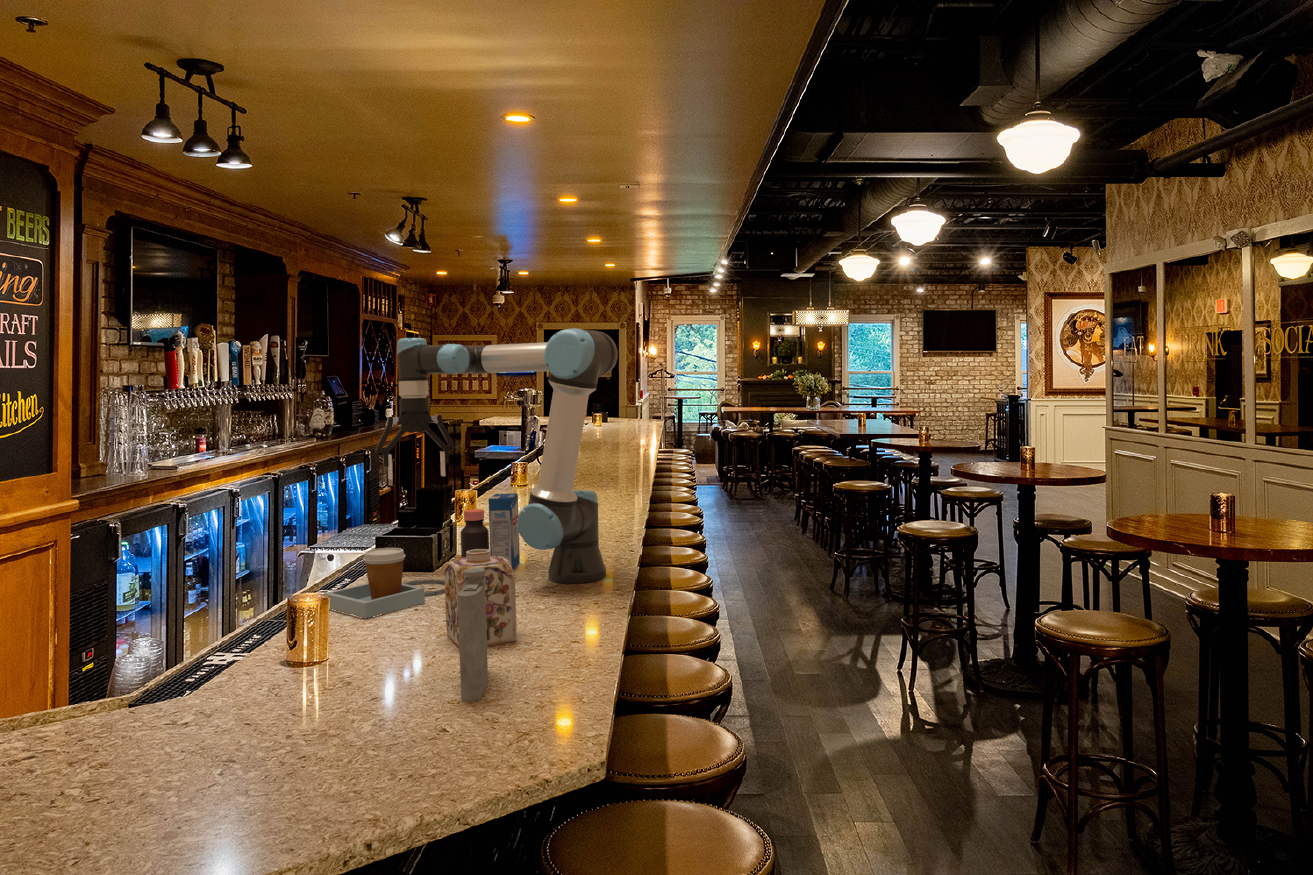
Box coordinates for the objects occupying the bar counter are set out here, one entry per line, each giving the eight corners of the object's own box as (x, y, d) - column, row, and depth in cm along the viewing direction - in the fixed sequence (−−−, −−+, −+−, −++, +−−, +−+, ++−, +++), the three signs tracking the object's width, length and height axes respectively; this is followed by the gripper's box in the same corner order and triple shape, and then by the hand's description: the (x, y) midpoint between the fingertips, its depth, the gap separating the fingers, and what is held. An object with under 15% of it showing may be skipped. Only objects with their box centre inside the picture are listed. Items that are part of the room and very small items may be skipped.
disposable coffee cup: (410, 604, 195) (408, 552, 195) (367, 609, 191) (364, 557, 191) (404, 594, 204) (402, 545, 203) (362, 599, 200) (360, 549, 199)
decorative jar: (459, 651, 163) (456, 559, 161) (445, 635, 173) (441, 548, 172) (519, 641, 168) (516, 552, 167) (501, 626, 178) (498, 542, 177)
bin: (424, 603, 198) (424, 587, 198) (365, 619, 186) (364, 603, 185) (383, 593, 208) (382, 579, 208) (324, 608, 195) (323, 593, 195)
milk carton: (513, 570, 230) (511, 498, 229) (490, 571, 230) (488, 498, 229) (519, 562, 240) (517, 493, 239) (498, 563, 240) (495, 493, 239)
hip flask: (468, 669, 152) (464, 559, 151) (491, 667, 153) (487, 558, 152) (460, 702, 137) (455, 580, 135) (485, 700, 137) (481, 579, 136)
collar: (464, 587, 213) (464, 584, 213) (417, 600, 201) (417, 596, 201) (427, 579, 222) (427, 576, 221) (380, 591, 210) (380, 588, 210)
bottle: (457, 592, 208) (454, 511, 206) (472, 585, 214) (470, 507, 213) (480, 594, 205) (477, 513, 204) (495, 587, 212) (493, 508, 210)
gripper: (459, 395, 230) (461, 473, 232) (362, 398, 220) (366, 479, 222) (464, 396, 223) (467, 475, 225) (365, 398, 213) (369, 482, 215)
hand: (417, 477), depth 223 cm, fingers open, 13 cm apart
